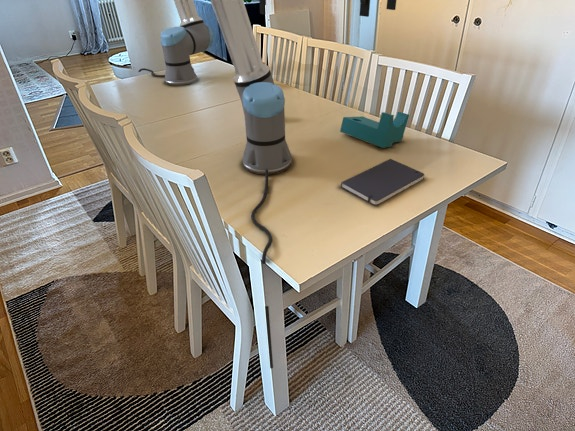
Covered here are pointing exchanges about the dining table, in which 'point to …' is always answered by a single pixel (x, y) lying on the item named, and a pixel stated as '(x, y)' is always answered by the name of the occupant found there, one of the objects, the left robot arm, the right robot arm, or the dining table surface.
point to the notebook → (382, 181)
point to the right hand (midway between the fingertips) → (377, 12)
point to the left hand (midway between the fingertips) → (250, 16)
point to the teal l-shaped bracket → (376, 128)
